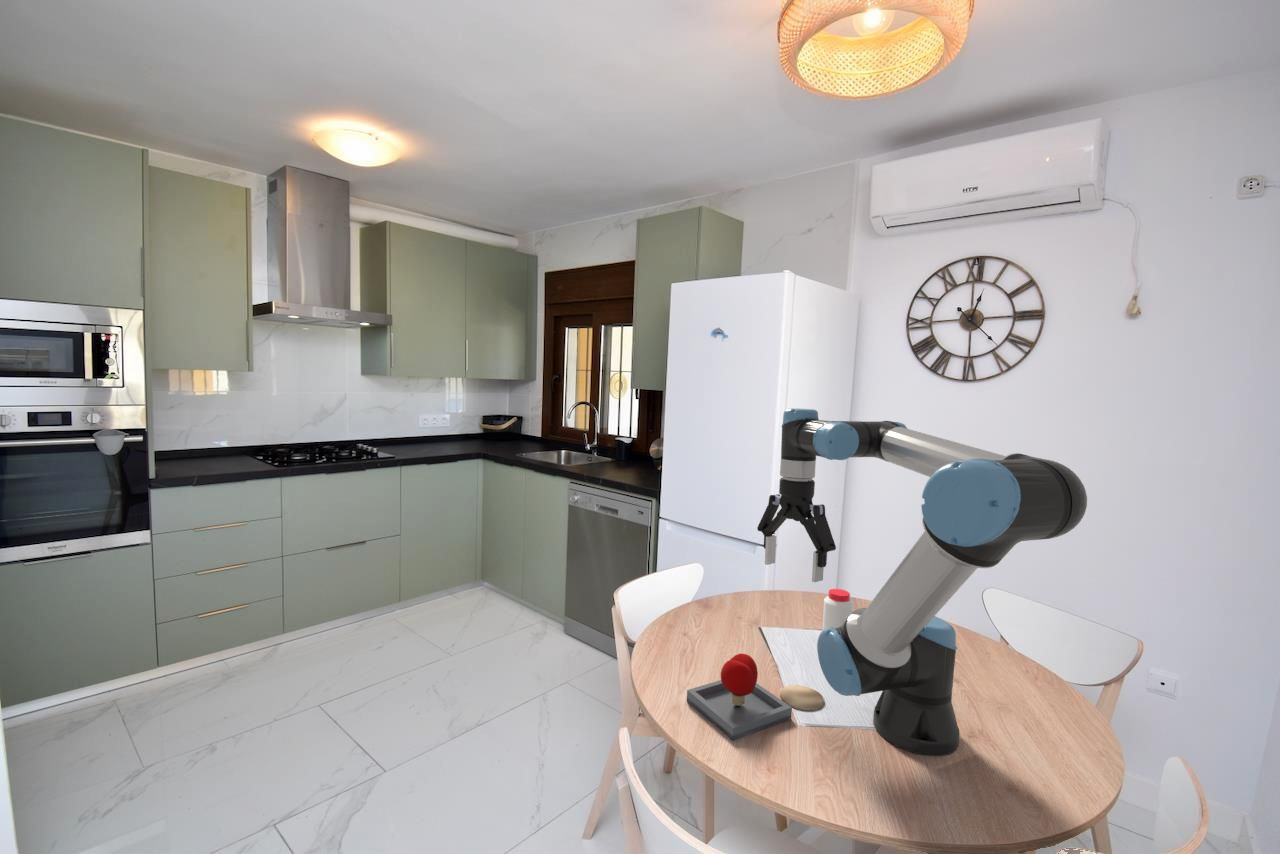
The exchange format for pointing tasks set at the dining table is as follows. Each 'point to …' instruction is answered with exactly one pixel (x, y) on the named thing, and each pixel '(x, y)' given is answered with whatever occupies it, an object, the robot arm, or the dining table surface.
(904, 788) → the dining table surface
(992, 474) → the robot arm
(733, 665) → the red rounded piece
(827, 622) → the pill bottle
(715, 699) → the socket dish
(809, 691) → the cork coaster
